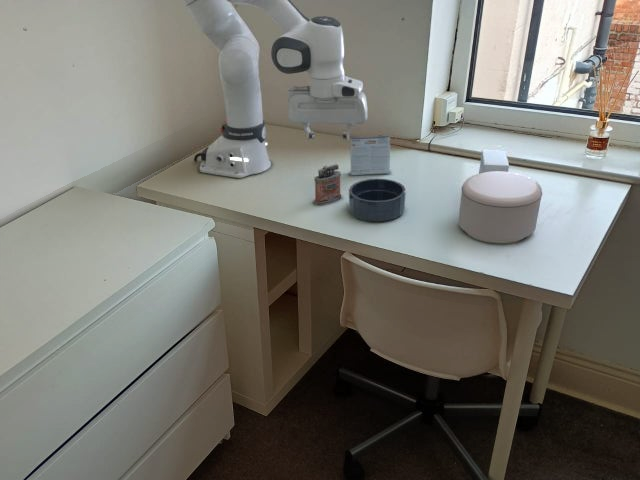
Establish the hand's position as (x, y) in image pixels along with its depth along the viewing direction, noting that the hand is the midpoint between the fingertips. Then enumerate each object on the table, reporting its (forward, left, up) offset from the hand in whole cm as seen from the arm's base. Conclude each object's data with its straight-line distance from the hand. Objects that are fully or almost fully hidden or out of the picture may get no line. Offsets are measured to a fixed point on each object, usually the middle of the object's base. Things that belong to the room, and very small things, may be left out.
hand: (328, 139), depth 176 cm
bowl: (+14, -4, -18) cm, 23 cm away
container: (+44, -9, -18) cm, 48 cm away
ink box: (+8, +20, -18) cm, 28 cm away
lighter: (0, 0, -18) cm, 18 cm away
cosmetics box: (+42, +11, -18) cm, 47 cm away
